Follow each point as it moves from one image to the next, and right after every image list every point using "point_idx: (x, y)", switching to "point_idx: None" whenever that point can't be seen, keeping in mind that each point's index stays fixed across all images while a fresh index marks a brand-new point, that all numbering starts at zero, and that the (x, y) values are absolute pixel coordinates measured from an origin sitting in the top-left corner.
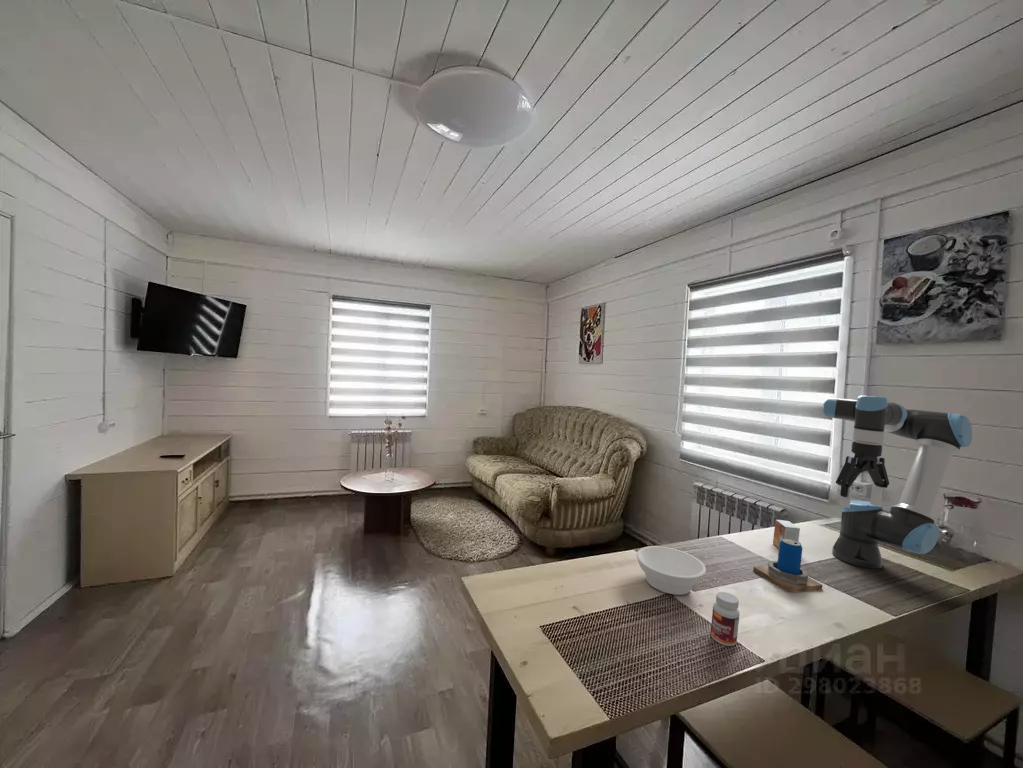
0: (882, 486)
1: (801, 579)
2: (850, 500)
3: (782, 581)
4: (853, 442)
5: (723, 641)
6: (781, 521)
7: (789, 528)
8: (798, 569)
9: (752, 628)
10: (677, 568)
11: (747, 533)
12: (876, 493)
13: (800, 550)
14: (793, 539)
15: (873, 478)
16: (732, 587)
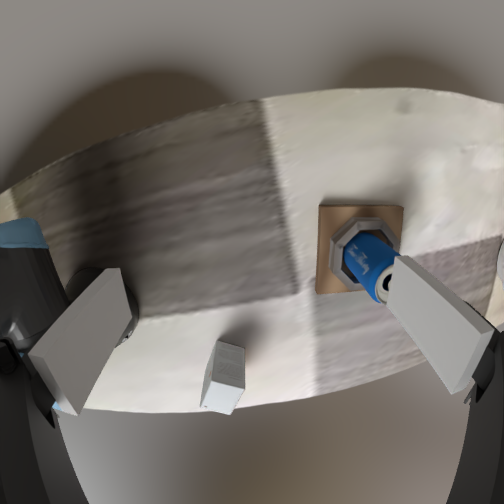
0: (24, 365)
1: (370, 219)
2: (424, 277)
3: (394, 230)
4: None
5: None
6: (225, 407)
7: (235, 384)
8: (369, 238)
9: (501, 148)
10: (501, 275)
11: (247, 405)
12: (86, 343)
13: (391, 255)
14: (225, 363)
15: (66, 470)
16: (462, 236)
